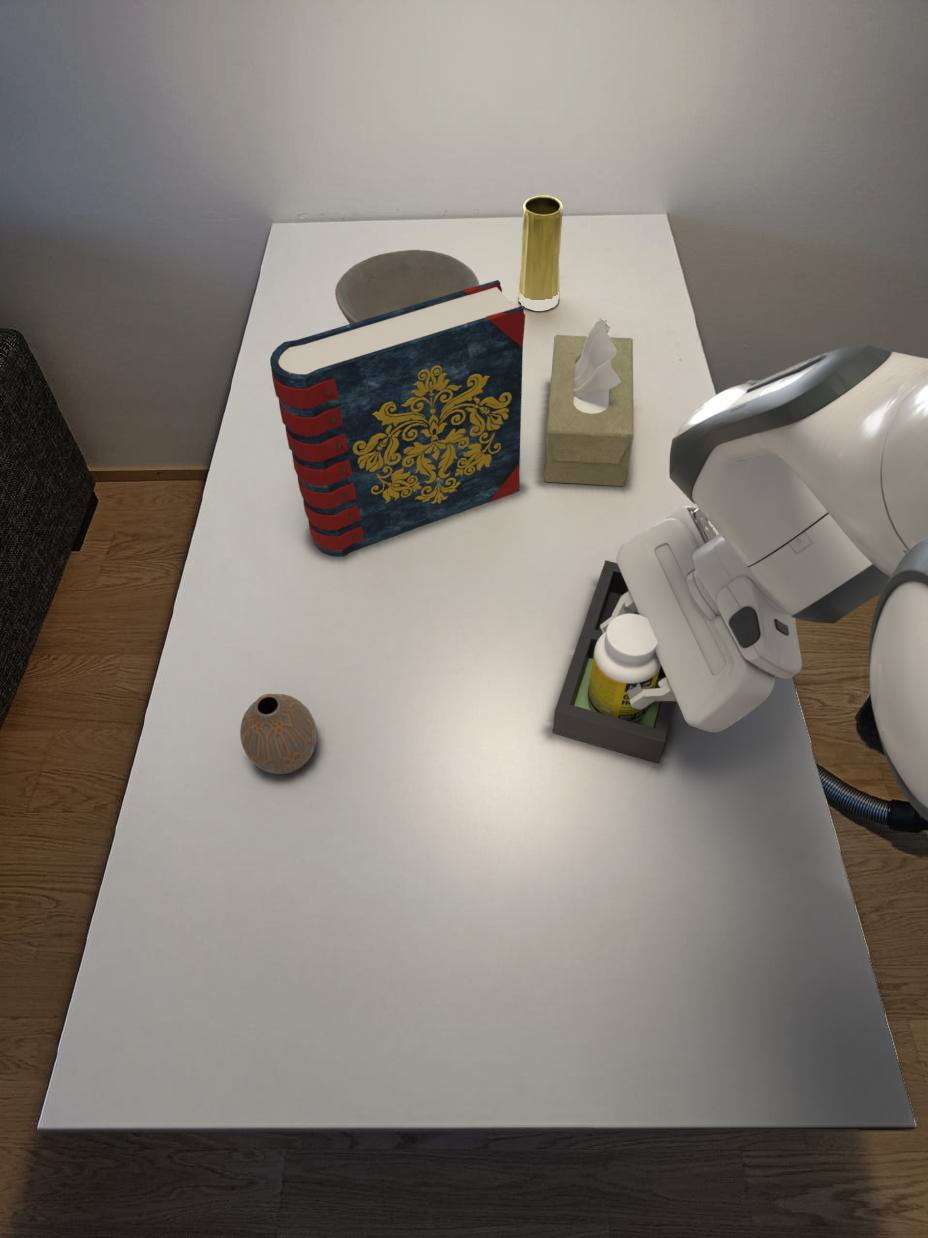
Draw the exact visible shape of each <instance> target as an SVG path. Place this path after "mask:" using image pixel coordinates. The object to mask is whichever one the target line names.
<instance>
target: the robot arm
mask: <svg viewBox="0 0 928 1238" xmlns="http://www.w3.org/2000/svg"><path fill="white" fill-rule="evenodd" d="M668 461H669V462H668V463H669V466H668V468H669V469H668V471H669V479H670V480H671V481H672V483H674V485H675V486H676V487H677V488H678V489H679V490H680V491H681V492H682V493H683V494H684V496H686V497H687V499H688V500H689V501H690V502H691V503H692V504H694V505H695V506H697V508H696V507H694V506H689V505H688V506H681V507H678V508H677V509H676V510H674V511H673V512H672V513H670V515H668V516H667V517H666V518H665V519H663V520H661V521H659V522H657V523H654V524H653V525H651V526H650V527H647V528H646V529H644V530H642V531H641V532H640V533H638V534H636V535H635V536H634V537H632V538H630V539H629V540H628V541H626V542H625V543H623V544H622V545H621V547H620V548H619V549H618V552H617V555H616V557H615V563H617V564H618V566H619V569H620V571H621V573H622V576H623V578H624V580H625V582H626V585H627V587H628V589H629V591H628V592H626V593H625V594H624V595H622V596H621V598H620V600H619V602H618V603H617V605H616V607H615V609H614V611H613V613H612V617H610V618H609V619H608V620H606V621H605V622H604V623H602V624H601V625H600V628H601V631H602V633H605V632H606V630H607V627H608V625H609V623H610V622H611V621H612V620H613V619H614V618H616V617H618V616H620V615H623V614H634V612H637V613H639V615H641V616H644V617H646V618H647V619H648V621H649V624H650V626H651V628H652V630H653V633H654V635H655V637H656V639H657V642H658V643H657V647H656V649H655V652H656V654H657V656H658V659H659V661H660V663H661V665H662V668H663V670H664V672H665V675H666V677H665V678H663V679H662V680H660V681H659V682H658V684H659V687H661V688H656V689H651V688H650V687H649V686H645V685H644V684H642V683H637V684H636V685H635V686H633V688H632V689H629V690H627V692H626V694H627V696H628V699H629V701H630V704H631V707H634V708H636V709H643V708H645V707H646V706H648V705H649V704H651V703H652V702H654V701H675V702H676V703H677V705H678V707H679V709H680V712H681V715H682V716H683V719H684V720H685V722H686V723H687V725H689V726H690V727H693V728H695V729H698V730H702V731H704V732H708V733H719V732H722V731H724V730H726V729H727V728H729V727H731V726H733V724H735V723H737V722H738V721H740V720H741V719H744V717H746V716H747V715H748V714H750V713H751V712H753V711H754V710H755V709H756V708H758V707H759V706H760V705H761V704H763V702H765V701H766V700H767V698H769V696H770V695H771V693H772V692H773V690H774V687H775V684H776V683H775V682H776V678H780V679H783V680H788V679H791V678H793V677H794V676H795V675H798V674H799V673H800V672H801V670H802V668H803V661H802V654H801V648H800V643H799V637H798V631H797V623H796V620H800V621H805V622H809V623H811V622H812V623H819V624H836V623H837V622H839V621H840V620H841V619H843V618H844V617H846V616H847V615H849V614H850V613H852V612H853V611H855V610H857V609H858V608H859V607H861V606H862V605H864V604H866V603H867V602H869V601H871V600H873V599H874V598H876V597H877V596H879V597H878V600H877V602H876V606H875V609H874V613H873V616H872V621H871V625H870V635H869V644H868V679H869V693H870V702H871V708H872V712H873V716H874V717H873V718H874V721H875V725H876V729H877V734H878V737H879V741H880V745H881V747H882V751H883V753H884V756H885V759H886V761H887V764H888V766H889V769H890V771H891V773H892V775H893V777H894V779H895V782H896V783H897V785H898V787H899V788H900V790H901V792H902V794H903V796H904V797H905V798H906V800H907V801H908V803H909V804H910V805H911V806H912V808H913V809H914V810H915V811H916V812H917V813H918V814H919V815H920V816H921V817H922V818H923V819H924V820H926V821H927V822H928V358H927V357H920V356H915V355H910V354H906V353H901V352H896V351H893V349H891V348H889V347H885V346H881V345H878V344H874V343H871V342H867V341H865V342H859V343H858V342H857V343H853V344H849V345H845V346H842V347H838V348H836V349H833V350H830V351H827V352H825V353H821V354H818V355H816V356H814V357H811V358H809V359H805V360H804V361H802V362H800V363H797V364H795V365H792V366H790V367H788V368H785V369H783V370H781V371H778V372H776V373H773V374H771V375H769V376H767V377H765V378H762V379H750V380H748V381H746V382H744V383H741V384H736V385H734V386H730V387H728V388H726V389H724V390H722V391H720V392H717V394H715V395H713V396H712V397H711V398H709V399H707V400H706V401H705V402H703V403H702V404H701V405H700V406H698V407H697V408H696V409H695V410H694V411H693V412H692V413H691V414H690V415H689V416H688V417H687V418H686V419H685V421H683V423H682V424H681V426H680V427H679V429H678V430H677V432H676V435H675V436H674V437H673V438H672V439H671V444H670V451H669V460H668ZM710 524H711V525H712V526H713V528H714V529H715V530H716V531H717V534H716V532H715V530H714V529H713V528H712V526H711V525H710Z"/></svg>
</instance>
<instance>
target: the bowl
mask: <svg viewBox="0 0 928 1238" xmlns="http://www.w3.org/2000/svg"><path fill="white" fill-rule="evenodd" d="M479 285H480V282H479V278H478V277H477V275H476V274H475V272H474V271H473V269H472V268H470V267H469V266H468V265H467V264H465V263H464V262H463V261H461V260H459V259H458V258H455V257H453V256H451V255H449V254H446V253H443V252H439V251H438V252H437V251H434V250H426V249H405V250H398V251H397V250H396V251H390V252H385V253H380V254H377V255H374V256H371V257H368V258H366V259H363V260H362V261H360V262H358V263H356V264H354V265H352V267H350V268H349V269H348V270H347V271H345V273H343V274H342V276H341V277H340V278H339V279H338V281H337V283H336V285H335V289H334V291H335V292H334V294H335V300H336V303H337V306H338V308H339V310H340V312H341V313H342V315H343V316H344V318H345V319H346V320H347V322H348V323H349V324H352V323H355V322H358V321H362V320H365V319H368V318H372V317H375V316H379V315H382V314H385V313H389V312H392V311H395V310H399V309H402V308H405V307H409V306H412V305H415V304H419V303H422V302H425V301H429V300H432V299H435V298H439V297H442V296H446V295H449V294H452V293H456V292H459V291H462V290H464V289H467V288H471V287H475V286H479Z"/></svg>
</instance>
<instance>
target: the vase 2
mask: <svg viewBox="0 0 928 1238" xmlns="http://www.w3.org/2000/svg"><path fill="white" fill-rule="evenodd" d="M563 208H564V206H563V203H562V201H560V200H559V199H558V198H556V197H553V196H551V195H536V196H532V197H530V198H527V200H525V201H524V203H523V206H522V234H521V248H520V249H521V250H520V267H519V282H518V283H519V284H518V295H517V298H518V297H519V293H521V294H522V295H523V296H524V297H525V298H529V299H531V300H545V299H552V298H553V296H556V295H558V292H559V295H560V253H561V242H562V241H561V240H562V227H563V212H564V209H563Z"/></svg>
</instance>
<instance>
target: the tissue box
mask: <svg viewBox="0 0 928 1238" xmlns="http://www.w3.org/2000/svg"><path fill="white" fill-rule="evenodd" d="M607 323H608V322H607V320H606V319H605V320H604V319H603V318H601V317H599V319H598V320H597V321H596V322H595V324H594V325H593V326H592V327H591V329H589V332H588V334H587V336H586V335H567V334H565V335H563V334H555V335H554V337H553V349H552V360H551V361H552V362H551V373H550V387H549V398H548V411H547V421H546V422H547V423H546V438H545V452H544V453H545V454H544V470H543V471H544V473H543V481H544V482H547V483H561V484H562V483H563V484H579V485H580V484H581V485H583V484H584V485H599V486H615V487H617V486H618V487H624V486H626V485H627V478H628V472H629V465H630V460H631V453H632V449H633V448H632V446H633V442H634V340H633V338H632V337H614V336H613V337H612V336H610V334H609V331H610V329H611V326H610V325H609V324H607Z"/></svg>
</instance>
